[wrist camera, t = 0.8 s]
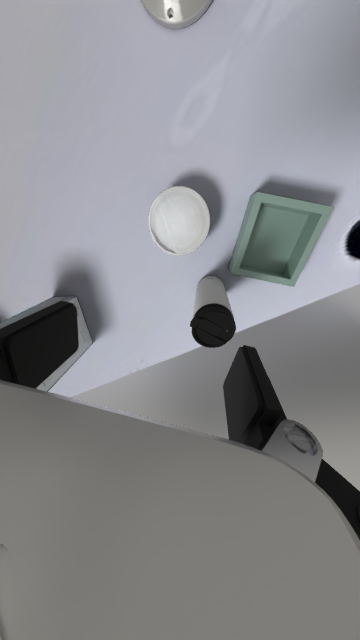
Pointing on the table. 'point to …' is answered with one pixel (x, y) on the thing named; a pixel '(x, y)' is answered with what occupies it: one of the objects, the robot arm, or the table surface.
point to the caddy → (277, 238)
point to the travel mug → (212, 314)
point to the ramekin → (179, 220)
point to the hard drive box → (82, 336)
